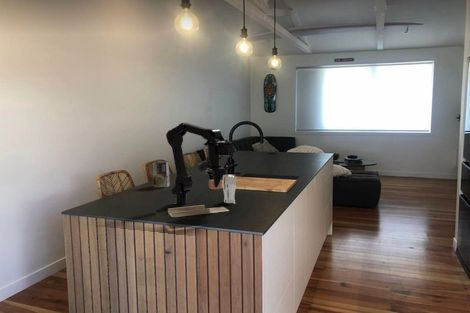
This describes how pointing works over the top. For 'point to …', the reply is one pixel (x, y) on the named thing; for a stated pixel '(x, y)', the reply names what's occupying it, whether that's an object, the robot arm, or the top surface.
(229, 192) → the beer glass
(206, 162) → the robot arm
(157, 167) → the coffee box
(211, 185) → the block
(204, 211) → the beige open frame tray
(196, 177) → the top surface
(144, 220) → the top surface
